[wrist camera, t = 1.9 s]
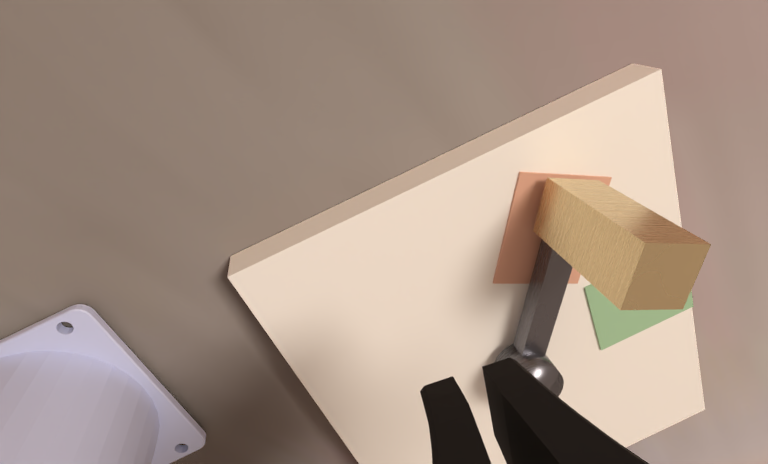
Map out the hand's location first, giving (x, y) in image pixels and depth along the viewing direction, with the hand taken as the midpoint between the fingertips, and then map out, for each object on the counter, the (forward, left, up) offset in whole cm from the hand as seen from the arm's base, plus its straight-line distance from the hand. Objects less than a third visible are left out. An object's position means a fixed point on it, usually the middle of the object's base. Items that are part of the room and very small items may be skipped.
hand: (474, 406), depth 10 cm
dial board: (+2, -8, -9) cm, 12 cm away
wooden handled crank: (+4, -5, -8) cm, 10 cm away
